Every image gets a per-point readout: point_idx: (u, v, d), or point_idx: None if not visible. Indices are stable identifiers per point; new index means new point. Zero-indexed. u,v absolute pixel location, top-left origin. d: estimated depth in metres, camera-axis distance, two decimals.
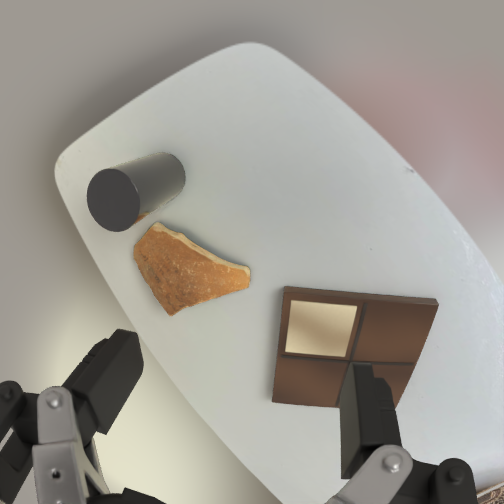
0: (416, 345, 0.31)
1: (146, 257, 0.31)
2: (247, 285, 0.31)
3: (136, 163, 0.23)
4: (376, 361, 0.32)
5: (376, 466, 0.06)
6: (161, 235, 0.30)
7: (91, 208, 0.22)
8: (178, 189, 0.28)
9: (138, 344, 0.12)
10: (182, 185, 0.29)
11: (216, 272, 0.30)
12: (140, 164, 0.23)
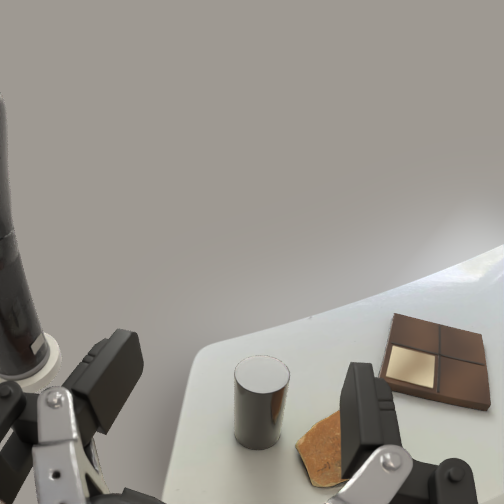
0: (424, 323, 0.45)
1: (326, 464, 0.24)
2: None
3: None
4: (438, 342, 0.40)
5: (376, 466, 0.06)
6: (308, 437, 0.27)
7: (258, 390, 0.24)
8: None
9: (138, 344, 0.12)
10: None
11: None
12: None
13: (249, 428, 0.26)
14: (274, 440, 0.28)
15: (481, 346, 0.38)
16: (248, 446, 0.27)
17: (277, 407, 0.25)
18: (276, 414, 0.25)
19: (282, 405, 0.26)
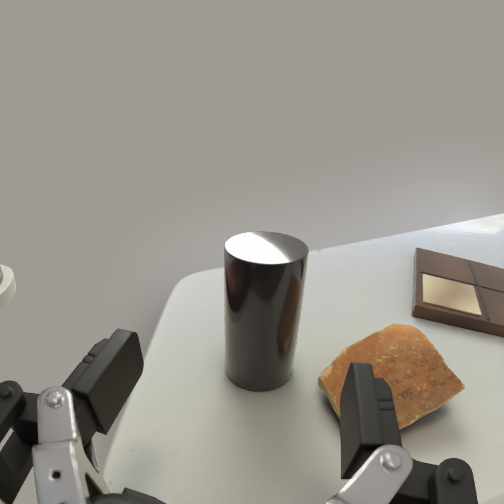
0: (452, 258, 0.37)
1: None
2: (411, 326, 0.24)
3: None
4: (472, 274, 0.33)
5: (376, 466, 0.06)
6: (337, 367, 0.19)
7: (261, 261, 0.16)
8: None
9: (138, 344, 0.12)
10: None
11: (394, 332, 0.22)
12: None
13: (247, 345, 0.18)
14: (285, 374, 0.20)
15: None
16: (246, 384, 0.19)
17: (292, 300, 0.17)
18: (289, 317, 0.18)
19: (298, 301, 0.18)
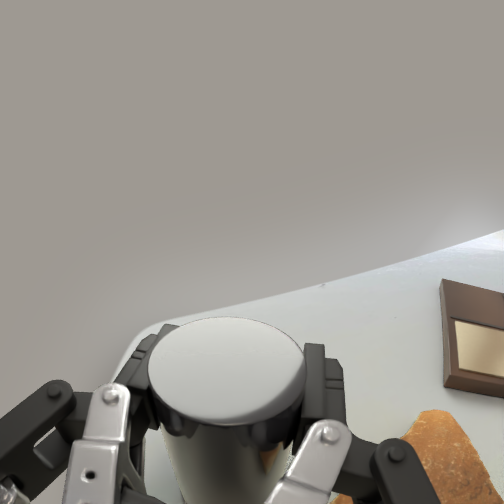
0: (484, 291, 0.28)
1: None
2: (445, 412, 0.15)
3: None
4: None
5: (315, 442, 0.07)
6: None
7: (208, 415, 0.07)
8: None
9: None
10: None
11: (426, 433, 0.13)
12: None
13: (201, 496, 0.09)
14: None
15: None
16: None
17: (273, 456, 0.08)
18: (268, 472, 0.09)
19: (285, 450, 0.09)
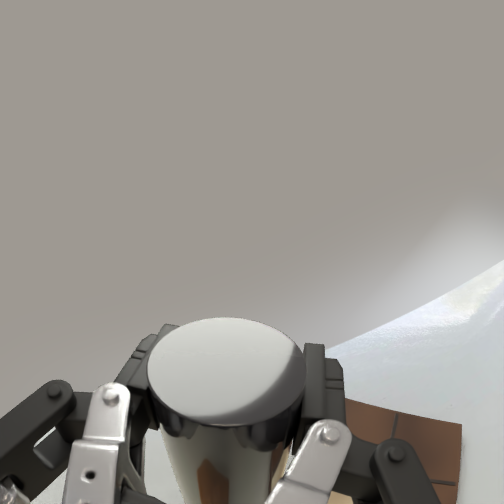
0: (372, 411, 0.29)
1: None
2: None
3: None
4: None
5: (315, 442, 0.07)
6: None
7: (208, 415, 0.07)
8: None
9: None
10: None
11: None
12: None
13: (201, 497, 0.09)
14: None
15: (457, 448, 0.22)
16: None
17: (272, 457, 0.08)
18: (268, 473, 0.09)
19: (285, 450, 0.09)
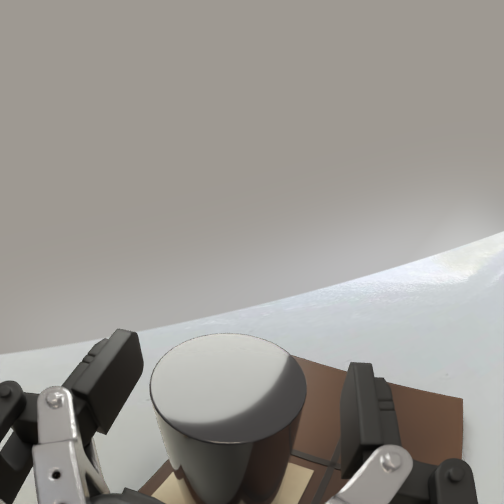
0: (325, 374, 0.21)
1: None
2: None
3: None
4: None
5: (376, 466, 0.06)
6: None
7: (210, 433, 0.07)
8: None
9: (138, 344, 0.12)
10: None
11: None
12: None
13: None
14: None
15: (456, 434, 0.15)
16: None
17: (273, 469, 0.08)
18: (268, 484, 0.09)
19: (285, 462, 0.09)
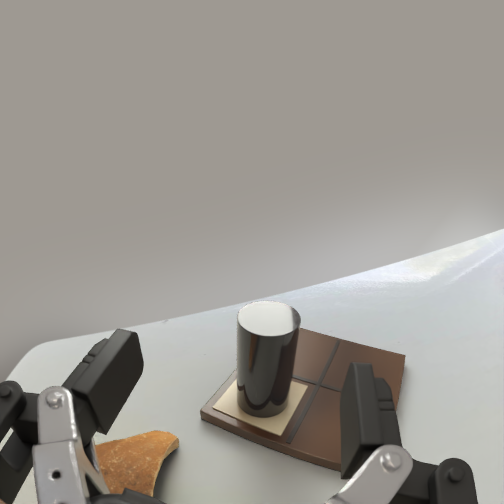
0: (314, 336, 0.36)
1: None
2: (174, 436, 0.23)
3: None
4: (324, 365, 0.31)
5: (376, 466, 0.06)
6: None
7: (265, 333, 0.21)
8: None
9: (138, 344, 0.12)
10: None
11: (136, 443, 0.21)
12: None
13: (254, 387, 0.23)
14: (283, 405, 0.25)
15: (398, 374, 0.29)
16: (253, 413, 0.25)
17: (287, 357, 0.23)
18: (285, 368, 0.23)
19: (292, 357, 0.23)
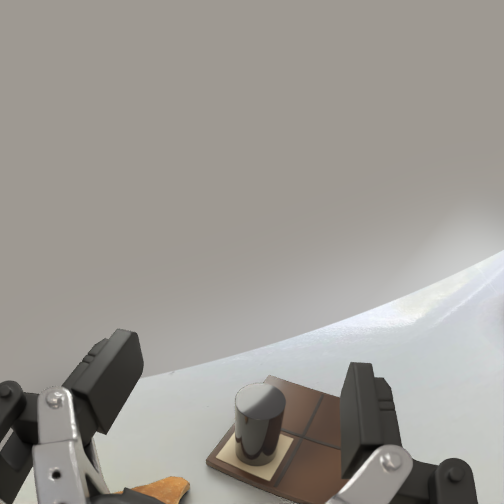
0: (302, 391, 0.40)
1: None
2: (186, 481, 0.27)
3: None
4: (309, 418, 0.35)
5: (376, 466, 0.06)
6: None
7: (257, 417, 0.25)
8: None
9: (138, 344, 0.12)
10: None
11: (157, 488, 0.25)
12: None
13: (248, 448, 0.27)
14: (272, 457, 0.29)
15: None
16: (248, 463, 0.29)
17: (275, 430, 0.26)
18: (273, 436, 0.27)
19: (279, 428, 0.27)
